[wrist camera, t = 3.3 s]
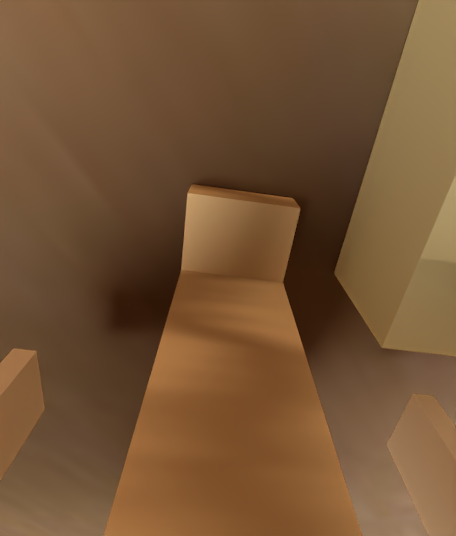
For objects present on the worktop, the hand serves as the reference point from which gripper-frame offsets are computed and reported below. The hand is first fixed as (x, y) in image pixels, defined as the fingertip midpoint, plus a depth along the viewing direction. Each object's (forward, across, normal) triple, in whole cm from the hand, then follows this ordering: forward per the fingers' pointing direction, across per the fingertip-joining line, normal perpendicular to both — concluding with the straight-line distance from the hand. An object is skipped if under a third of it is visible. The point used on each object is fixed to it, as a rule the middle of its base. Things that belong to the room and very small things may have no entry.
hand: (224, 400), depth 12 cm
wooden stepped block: (+4, 0, +1) cm, 5 cm away
